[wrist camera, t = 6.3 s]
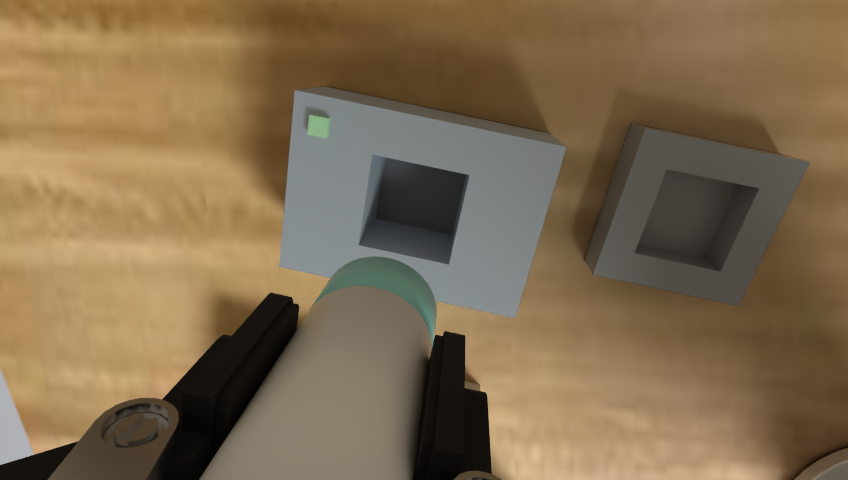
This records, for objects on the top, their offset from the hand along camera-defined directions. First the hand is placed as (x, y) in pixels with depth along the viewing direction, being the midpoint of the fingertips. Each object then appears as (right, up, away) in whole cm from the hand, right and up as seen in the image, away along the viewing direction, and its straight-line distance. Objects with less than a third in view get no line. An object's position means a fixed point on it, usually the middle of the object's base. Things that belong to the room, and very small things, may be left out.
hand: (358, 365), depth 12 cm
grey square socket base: (+18, +5, +17) cm, 25 cm away
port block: (+2, +7, +18) cm, 20 cm away
